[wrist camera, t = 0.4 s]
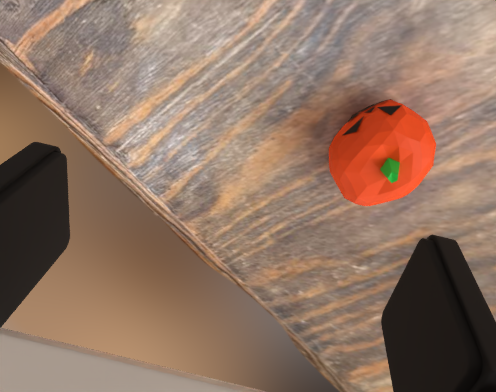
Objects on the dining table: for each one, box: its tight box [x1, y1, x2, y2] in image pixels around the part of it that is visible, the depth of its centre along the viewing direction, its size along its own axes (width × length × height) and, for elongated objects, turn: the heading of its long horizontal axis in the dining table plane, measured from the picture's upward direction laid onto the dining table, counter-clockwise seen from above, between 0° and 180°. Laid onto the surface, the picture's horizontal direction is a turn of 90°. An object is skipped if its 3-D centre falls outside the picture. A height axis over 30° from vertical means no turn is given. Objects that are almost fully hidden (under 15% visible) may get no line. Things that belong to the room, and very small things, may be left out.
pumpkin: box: [329, 99, 436, 206], centre depth 30 cm, size 7×8×6 cm
